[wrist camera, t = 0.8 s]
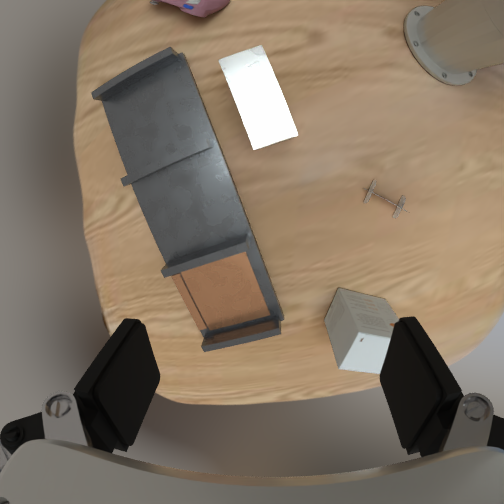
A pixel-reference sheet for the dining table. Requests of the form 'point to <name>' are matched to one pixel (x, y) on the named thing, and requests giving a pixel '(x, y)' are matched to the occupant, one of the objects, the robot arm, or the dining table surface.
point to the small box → (359, 330)
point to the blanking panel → (258, 97)
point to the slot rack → (190, 200)
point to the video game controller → (196, 6)
